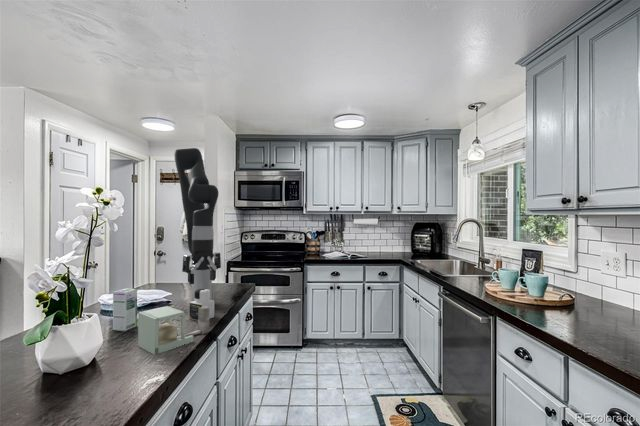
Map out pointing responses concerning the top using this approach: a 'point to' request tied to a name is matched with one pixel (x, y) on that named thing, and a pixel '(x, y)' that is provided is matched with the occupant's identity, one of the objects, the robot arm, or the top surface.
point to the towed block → (170, 333)
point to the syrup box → (124, 309)
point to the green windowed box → (150, 329)
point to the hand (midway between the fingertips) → (202, 282)
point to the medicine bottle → (201, 303)
